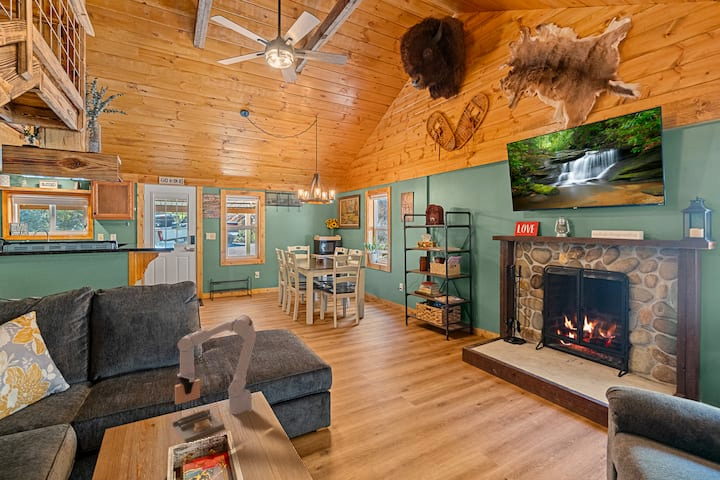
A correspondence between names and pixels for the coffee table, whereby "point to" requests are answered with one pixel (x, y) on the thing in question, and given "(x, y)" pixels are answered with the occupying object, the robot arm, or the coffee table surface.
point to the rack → (188, 424)
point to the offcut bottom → (203, 429)
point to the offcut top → (202, 425)
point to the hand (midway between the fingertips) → (187, 392)
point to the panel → (182, 397)
